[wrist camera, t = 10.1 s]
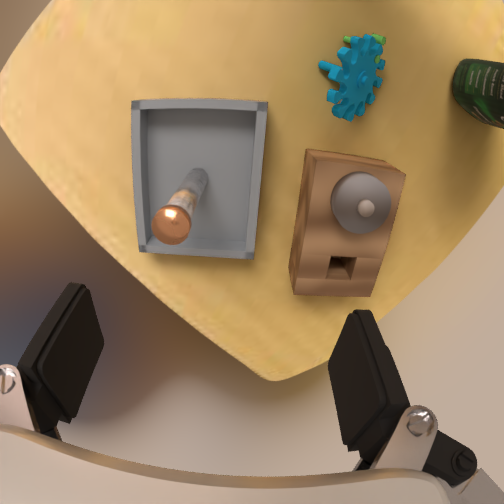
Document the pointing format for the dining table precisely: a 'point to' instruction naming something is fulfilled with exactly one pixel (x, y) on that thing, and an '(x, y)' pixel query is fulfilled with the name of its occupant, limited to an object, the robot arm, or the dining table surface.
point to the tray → (200, 156)
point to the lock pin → (180, 209)
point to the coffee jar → (481, 90)
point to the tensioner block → (342, 223)
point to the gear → (355, 75)
